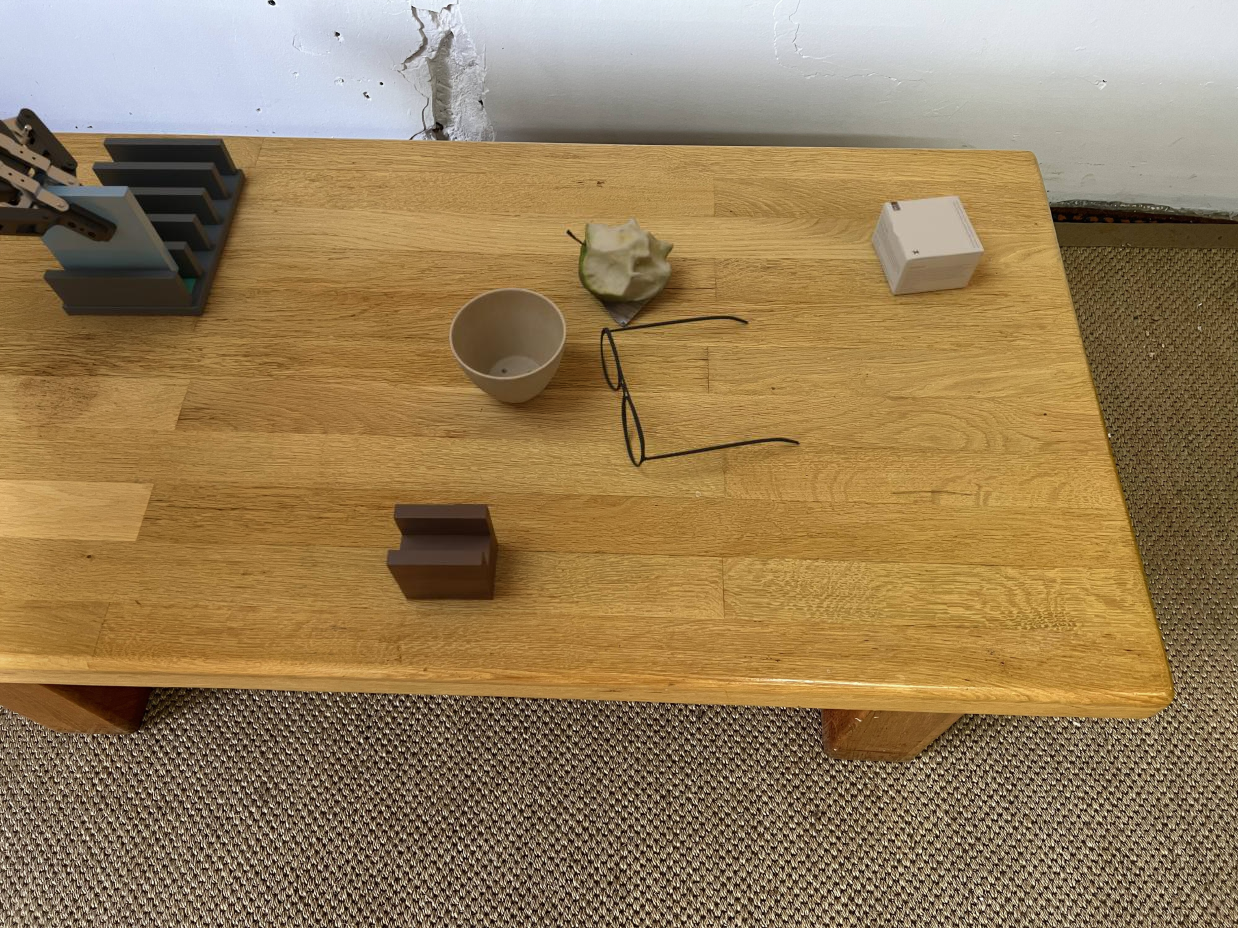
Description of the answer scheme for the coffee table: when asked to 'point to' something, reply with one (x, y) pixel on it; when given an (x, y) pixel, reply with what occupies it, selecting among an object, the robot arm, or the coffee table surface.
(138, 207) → the plate
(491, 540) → the stand
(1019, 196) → the coffee table surface
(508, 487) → the coffee table surface
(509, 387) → the flower pot
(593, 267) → the fruit
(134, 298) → the rack
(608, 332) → the glasses
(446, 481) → the coffee table surface
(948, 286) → the small box
